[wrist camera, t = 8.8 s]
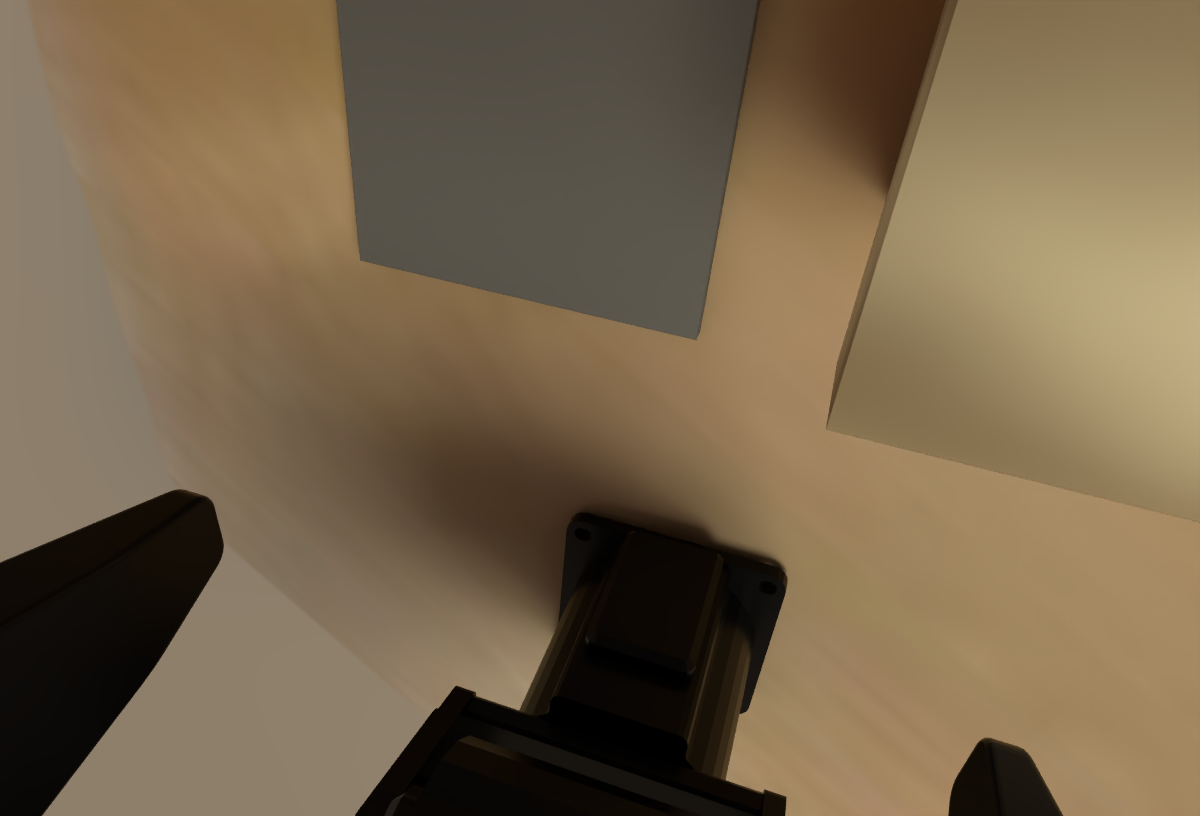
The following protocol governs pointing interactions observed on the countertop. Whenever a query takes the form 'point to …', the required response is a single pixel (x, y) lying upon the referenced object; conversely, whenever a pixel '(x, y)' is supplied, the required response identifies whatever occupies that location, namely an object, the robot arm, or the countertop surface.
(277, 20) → the countertop surface
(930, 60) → the beige block on tray
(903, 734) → the countertop surface
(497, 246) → the mat
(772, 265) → the countertop surface
